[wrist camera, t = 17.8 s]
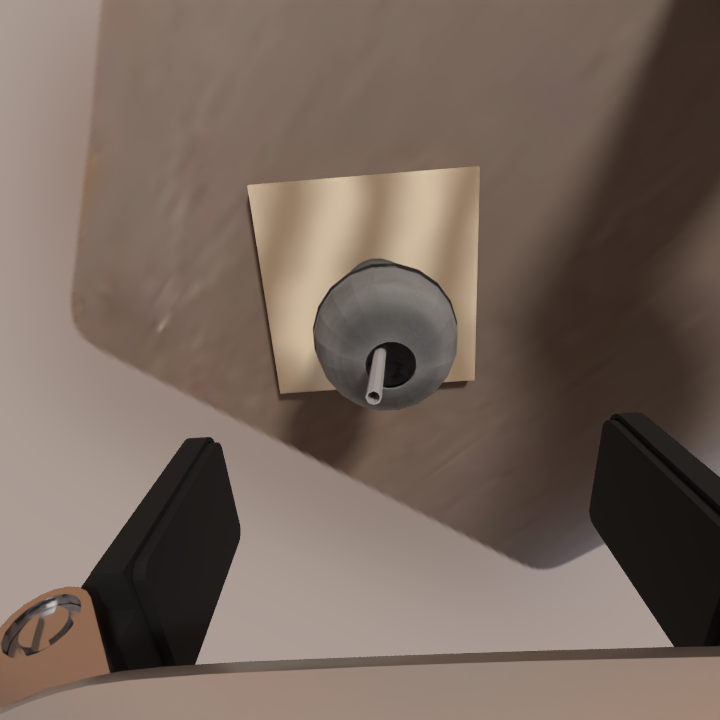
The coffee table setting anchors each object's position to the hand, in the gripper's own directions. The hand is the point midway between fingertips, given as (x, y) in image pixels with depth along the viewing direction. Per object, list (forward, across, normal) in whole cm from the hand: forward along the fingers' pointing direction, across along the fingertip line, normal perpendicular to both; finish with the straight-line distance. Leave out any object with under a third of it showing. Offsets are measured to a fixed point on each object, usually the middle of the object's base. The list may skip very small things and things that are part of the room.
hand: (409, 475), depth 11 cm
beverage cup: (+23, 0, 0) cm, 23 cm away
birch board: (+24, +1, +1) cm, 24 cm away
